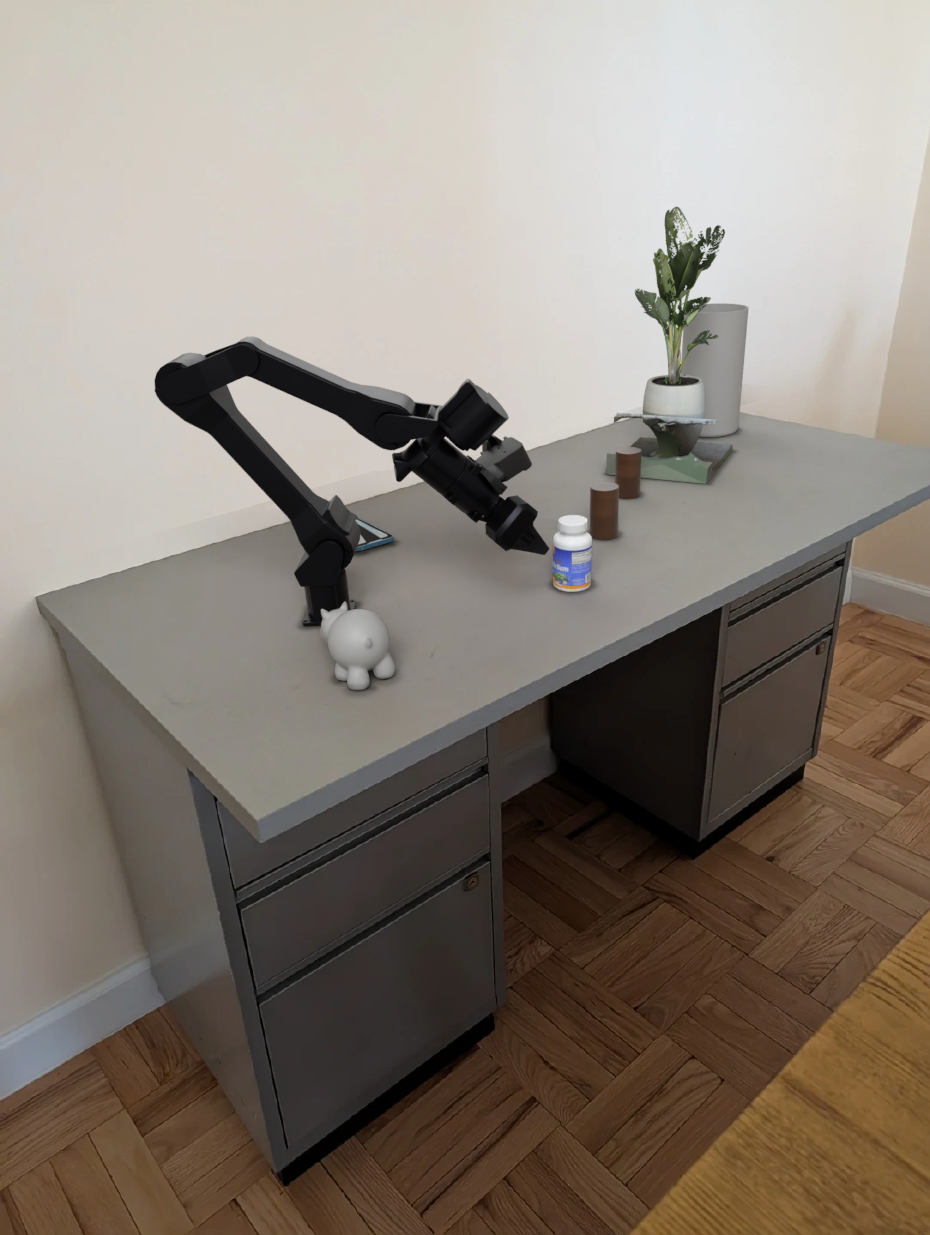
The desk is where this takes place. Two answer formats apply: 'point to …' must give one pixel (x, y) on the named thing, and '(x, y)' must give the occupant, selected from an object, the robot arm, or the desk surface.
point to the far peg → (628, 471)
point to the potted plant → (677, 369)
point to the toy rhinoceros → (357, 645)
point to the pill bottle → (572, 554)
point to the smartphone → (371, 535)
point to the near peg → (604, 510)
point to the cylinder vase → (718, 363)
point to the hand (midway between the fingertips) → (532, 539)
